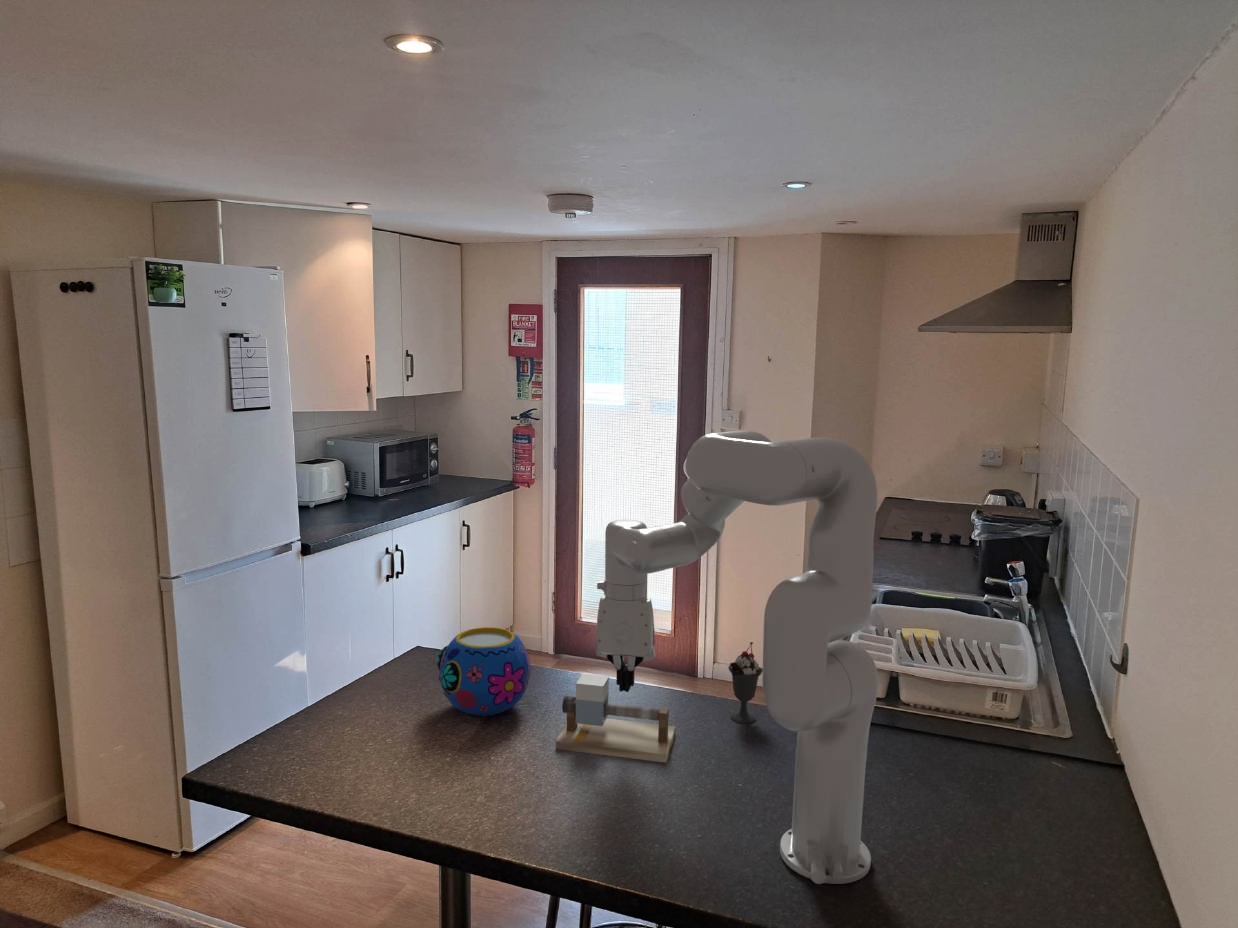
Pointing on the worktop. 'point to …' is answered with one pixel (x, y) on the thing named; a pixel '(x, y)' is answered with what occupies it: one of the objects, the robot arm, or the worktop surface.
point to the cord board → (619, 733)
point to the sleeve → (591, 699)
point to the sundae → (744, 684)
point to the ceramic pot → (484, 670)
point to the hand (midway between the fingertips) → (625, 688)
